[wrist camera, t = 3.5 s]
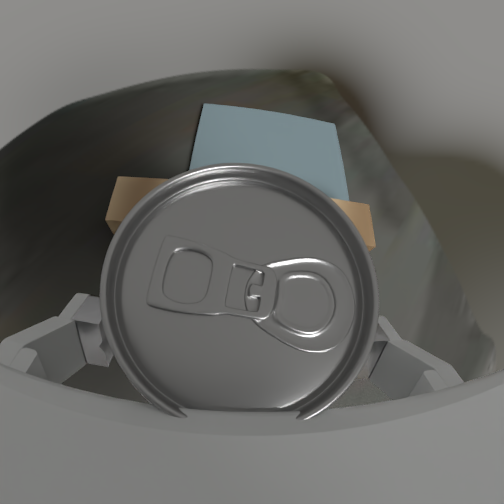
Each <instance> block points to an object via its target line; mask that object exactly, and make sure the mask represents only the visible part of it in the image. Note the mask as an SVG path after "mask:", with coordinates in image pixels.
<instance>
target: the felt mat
mask: <svg viewBox="0 0 504 504" xmlns="http://www.w3.org/2000/svg"><path fill="white" fill-rule="evenodd" d="M221 163H249V164H257V165H263V166H267V167H271V168H275V169H278V170H282V171H284V172H287V173H290V174H292V175H294V176H297V177H299V178H301V179H303V180H304V181H306V182H308V183H310V184H311V185H313V186H315V187H316V188H318V189H319V190H320V191H322V192H323V193H324V194H326V195H327V196H328V197H329V198H333V199H339V200H345V201H349V197H348V190H347V184H346V178H345V173H344V167H343V162H342V156H341V151H340V146H339V142H338V137H337V132H336V128H335V124H332V123H328V122H323V121H319V120H314V119H309V118H304V117H299V116H294V115H289V114H283V113H277V112H271V111H265V110H258V109H251V108H243V107H235V106H225V105H215V104H204V105H203V110H202V114H201V118H200V122H199V126H198V131H197V135H196V140H195V144H194V149H193V154H192V159H191V164H190V169H189V170H192V169H195V168H199V167H203V166H207V165H213V164H221Z"/></svg>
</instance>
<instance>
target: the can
mask: <svg viewBox="0 0 504 504" xmlns="http://www.w3.org/2000/svg"><path fill="white" fill-rule="evenodd" d="M100 310H101V318H102V323H103V327H104V331H105V335H106V338H107V341H108V343H109V346H110V348H111V351H112V353H113V355H114V357H115V359H116V361H117V363H118V364H119V366H120V368H121V369H122V371H123V372H124V374H125V375H126V377H127V378H128V379H129V381H130V382H131V384H132V385H133V386H134V387H135V389H136V390H137V391H138V392H139V393H140V394H141V395H142V396H143V397H144V398H145V399H146V400H147V401H148V402H149V403H150V404H154V405H155V406H156V407H157V408H159V409H160V410H162V411H163V412H165V413H166V414H168V415H170V416H173V417H178V418H187V415H186V414H184V413H183V412H182V411H181V410H180V409H179V408H188V409H199V410H212V411H231V412H284V411H300V414H299V415H298V416H297V417H296V419H297V420H305V419H310V418H313V417H315V416H316V415H318V414H319V413H321V412H322V411H324V410H325V409H326V408H328V407H329V406H330V405H332V404H333V403H334V402H335V401H336V400H337V399H338V398H339V397H340V396H341V395H342V394H343V393H344V392H345V391H346V390H347V389H348V388H349V387H350V385H351V384H352V383H353V381H354V380H355V379H356V377H357V376H358V374H359V373H360V371H361V369H362V368H363V366H364V364H365V362H366V360H367V358H368V356H369V353H370V351H371V348H372V345H373V342H374V339H375V335H376V331H377V325H378V318H379V288H378V281H377V276H376V271H375V268H374V264H373V261H372V258H371V255H370V253H369V250H368V248H367V246H366V244H365V242H364V240H363V238H362V236H361V235H360V233H359V231H358V230H357V228H356V227H355V225H354V224H353V222H352V221H351V220H350V218H349V217H348V216H347V215H346V213H345V212H344V211H343V210H342V209H341V208H340V207H339V206H338V205H337V204H336V203H335V202H334V201H333V200H332V199H331V198H329V197H328V196H327V195H326V194H324V193H323V192H322V191H320V190H319V189H318V188H316V187H315V186H313V185H311V184H310V183H308V182H306V181H304V180H303V179H301V178H299V177H297V176H294V175H292V174H290V173H287V172H284V171H282V170H278V169H275V168H271V167H267V166H263V165H257V164H249V163H221V164H213V165H207V166H203V167H199V168H195V169H192V170H189V171H186V172H184V173H181V174H179V175H176V176H174V177H172V178H170V179H168V180H167V181H165V182H163V183H162V184H160V185H158V186H157V187H156V188H154V189H153V190H151V191H150V192H149V193H148V194H146V195H145V196H144V197H143V198H142V199H141V200H140V201H139V202H138V203H137V204H136V205H135V206H134V207H133V208H132V209H131V210H130V212H129V213H128V214H127V215H126V217H125V218H124V219H123V221H122V222H121V224H120V225H119V227H118V229H117V231H116V232H115V234H114V236H113V238H112V240H111V243H110V245H109V247H108V250H107V253H106V256H105V259H104V263H103V268H102V273H101V280H100Z"/></svg>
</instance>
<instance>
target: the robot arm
mask: <svg viewBox="0 0 504 504" xmlns="http://www.w3.org/2000/svg"><path fill="white" fill-rule="evenodd" d="M112 357H113V353H112V351H111V348H110V346H109V343H108V341H107V338H106V335H105V331H104V327H103V323H102V318H101V310H100V296H96V295H90V294H84V293H76V294H75V296H74V297H73V298H72V299H71V301H70V302H69V303H68V305H67V306H66V307H65V308H64V310H63V311H62V312H61V314H60V315H59V316H58V317H56V316H54V317H52V318H50V319H47V320H45V321H43V322H41V323H38V324H36V325H34V326H32V327H29V328H27V329H25V330H23V331H21V332H18V333H16V334H14V335H12V336H10V337H7V338H5V339H4V340H3V341H2V342H1V344H0V504H504V369H502V370H499V371H497V372H494V373H491V374H489V375H486V376H483V377H480V378H477V379H474V380H471V381H468V382H463V380H462V379H461V378H460V376H459V375H458V374H457V372H456V371H455V370H454V368H453V367H452V366H451V365H450V364H448V363H446V362H444V361H442V360H441V359H439V358H437V357H435V356H433V355H432V354H430V353H428V352H426V351H424V350H423V349H421V348H419V347H417V346H415V345H414V344H412V343H410V342H408V341H406V340H402V339H401V338H400V336H399V335H398V334H397V332H396V331H395V330H394V328H393V327H392V326H391V324H390V323H389V322H388V320H387V319H386V318H385V317H384V316H379V318H378V325H377V331H376V335H375V339H374V342H373V345H372V348H371V351H370V353H369V356H368V358H367V360H366V362H365V364H364V366H363V368H362V369H361V371H360V373H359V374H358V376H357V377H356V379H369V380H370V381H371V382H372V383H373V384H374V385H376V386H377V387H378V388H379V389H380V390H381V391H383V392H384V393H385V394H386V395H387V396H388V397H390V398H391V399H392V400H390V401H385V402H379V403H373V404H366V405H359V406H351V407H342V408H333V409H325V410H324V411H322V412H321V413H319V414H318V415H316V416H315V417H313V418H310V419H305V420H297V419H296V417H297V416H298V415H299V414H300V411H284V412H231V411H212V410H199V409H188V408H179V409H180V410H181V411H182V412H183V413H184V414H186V415H187V418H178V417H173V416H170V415H168V414H166V413H165V412H163V411H162V410H160V409H159V408H157V407H156V406H155V405H154V404H148V403H142V402H136V401H130V400H125V399H119V398H114V397H110V396H105V395H100V394H96V393H92V392H88V391H84V390H80V389H76V388H72V387H69V386H65V385H61V383H63V382H64V381H65V380H66V379H68V378H69V377H70V376H72V375H73V374H74V373H76V372H77V371H78V370H79V369H81V368H82V367H83V366H85V365H86V363H89V364H94V365H100V366H106V367H108V366H109V364H110V362H111V359H112ZM356 379H355V380H356Z"/></svg>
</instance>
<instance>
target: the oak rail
mask: <svg viewBox="0 0 504 504" xmlns="http://www.w3.org/2000/svg"><path fill="white" fill-rule="evenodd" d="M167 180H168V179H158V178H141V177H120V176H118V178H117V182H116V185H115V188H114V191H113V194H112V198H111V201H110V204H109V208H108V211H107V215H106V218H105V220H106V222H107V224H108V226H109V227H110V229H111V231H112V232H113V234H115V232H116V231H117V229H118V227H119V225H120V224H121V222H122V221H123V219H124V218H125V217H126V215H127V214H128V213H129V212H130V210H131V209H132V208H133V207H134V206H135V205H136V204H137V203H138V202H139V201H140V200H141V199H142V198H143V197H144V196H145V195H146V194H148V193H149V192H150V191H151V190H153V189H154V188H156V187H157V186H158V185H160V184H162V183H163V182H165V181H167ZM331 199H332V200H333V201H334V202H335V203H336V204H337V205H338V206H339V207H340V208H341V209H342V210H343V211H344V212H345V213H346V215H347V216H348V217H349V218H350V220H351V221H352V222H353V224H354V225H355V227H356V228H357V230H358V231H359V233H360V235H361V236H362V238H363V240H364V242H365V244H366V246H367V248H368V250H369V251H371V250H372V249H373V248H374V247H376V245H375V238H374V232H373V225H372V219H371V213H370V208H369V205H368V204H362V203H357V202H351V201H345V200H339V199H333V198H331Z"/></svg>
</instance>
